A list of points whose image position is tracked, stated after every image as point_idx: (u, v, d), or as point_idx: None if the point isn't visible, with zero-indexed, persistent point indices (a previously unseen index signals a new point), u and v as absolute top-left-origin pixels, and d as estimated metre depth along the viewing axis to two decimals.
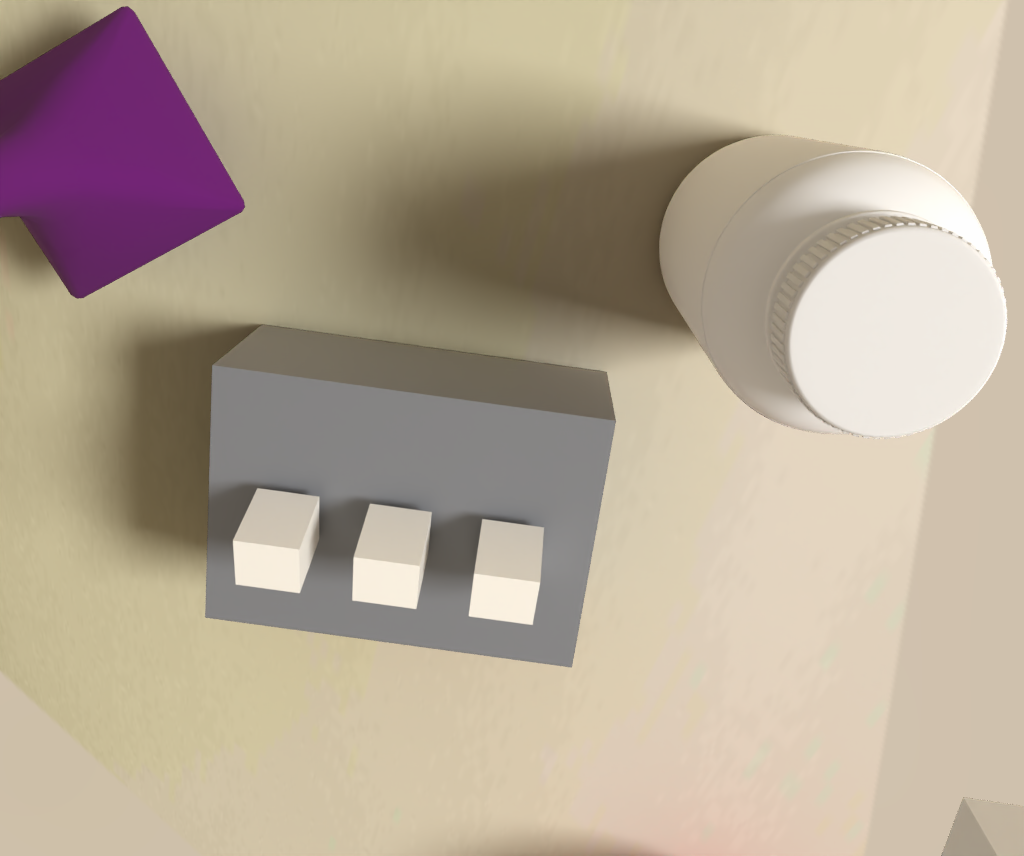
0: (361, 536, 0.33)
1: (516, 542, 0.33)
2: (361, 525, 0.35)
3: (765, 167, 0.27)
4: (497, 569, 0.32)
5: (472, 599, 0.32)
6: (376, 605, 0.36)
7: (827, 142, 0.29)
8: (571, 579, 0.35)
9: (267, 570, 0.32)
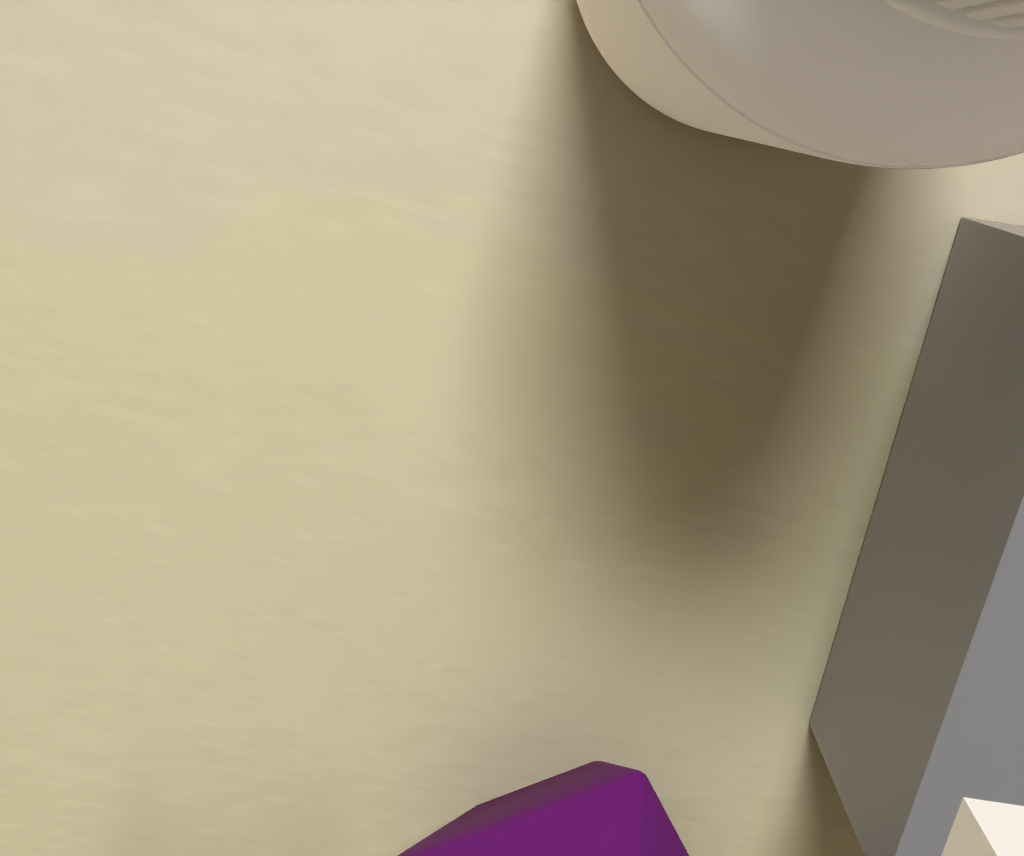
0: None
1: None
2: None
3: (617, 4, 0.12)
4: None
5: None
6: None
7: None
8: None
9: None
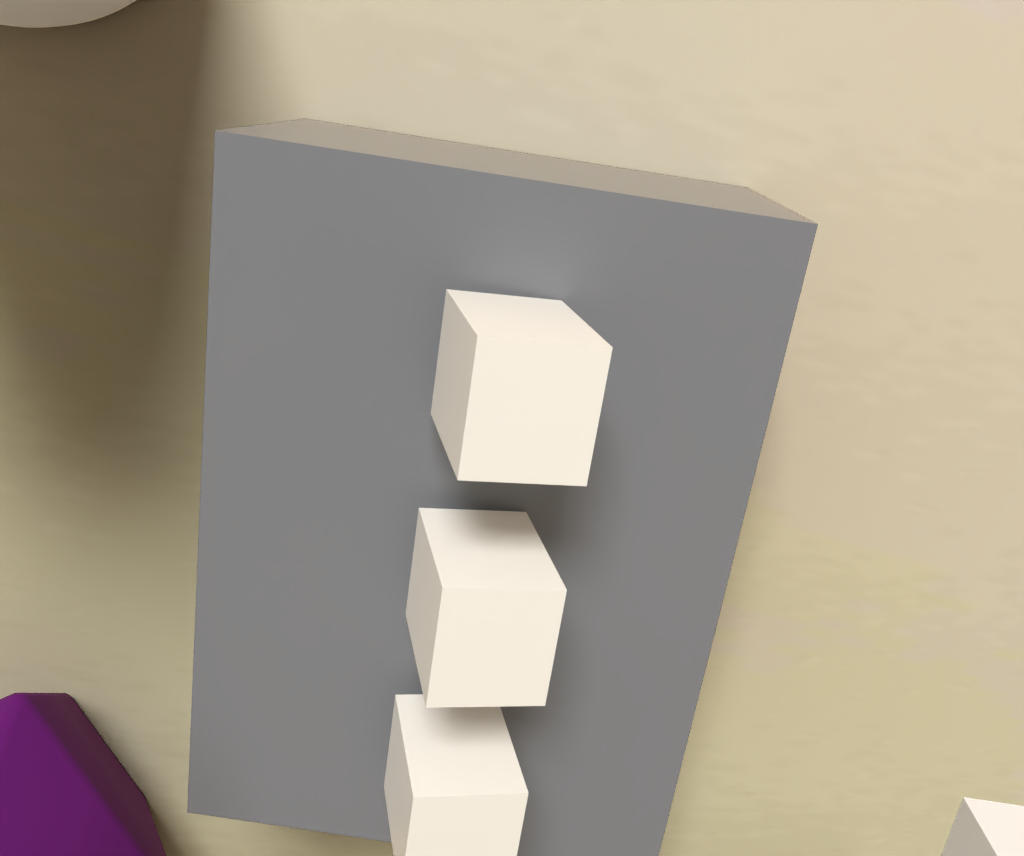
0: (418, 666, 0.16)
1: (449, 359, 0.15)
2: None
3: None
4: (459, 424, 0.14)
5: (535, 480, 0.14)
6: (639, 609, 0.18)
7: None
8: (590, 225, 0.16)
9: (471, 844, 0.17)
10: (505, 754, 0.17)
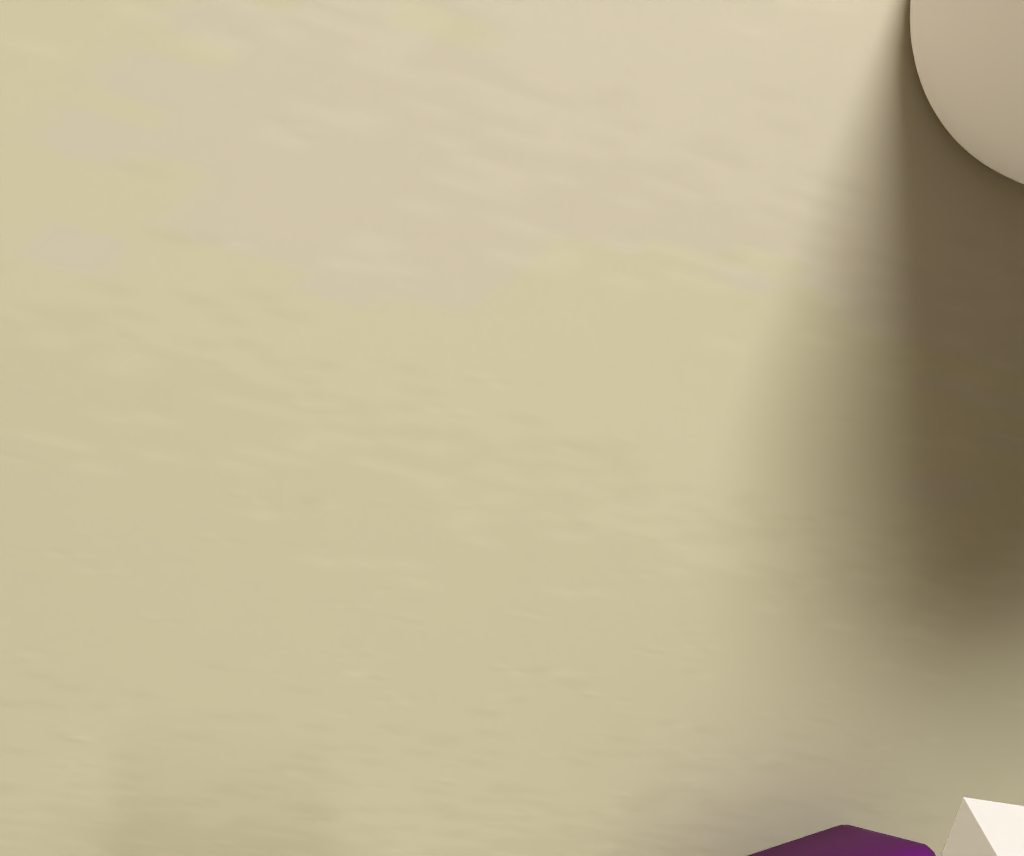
0: None
1: None
2: None
3: None
4: None
5: None
6: None
7: None
8: None
9: None
10: None
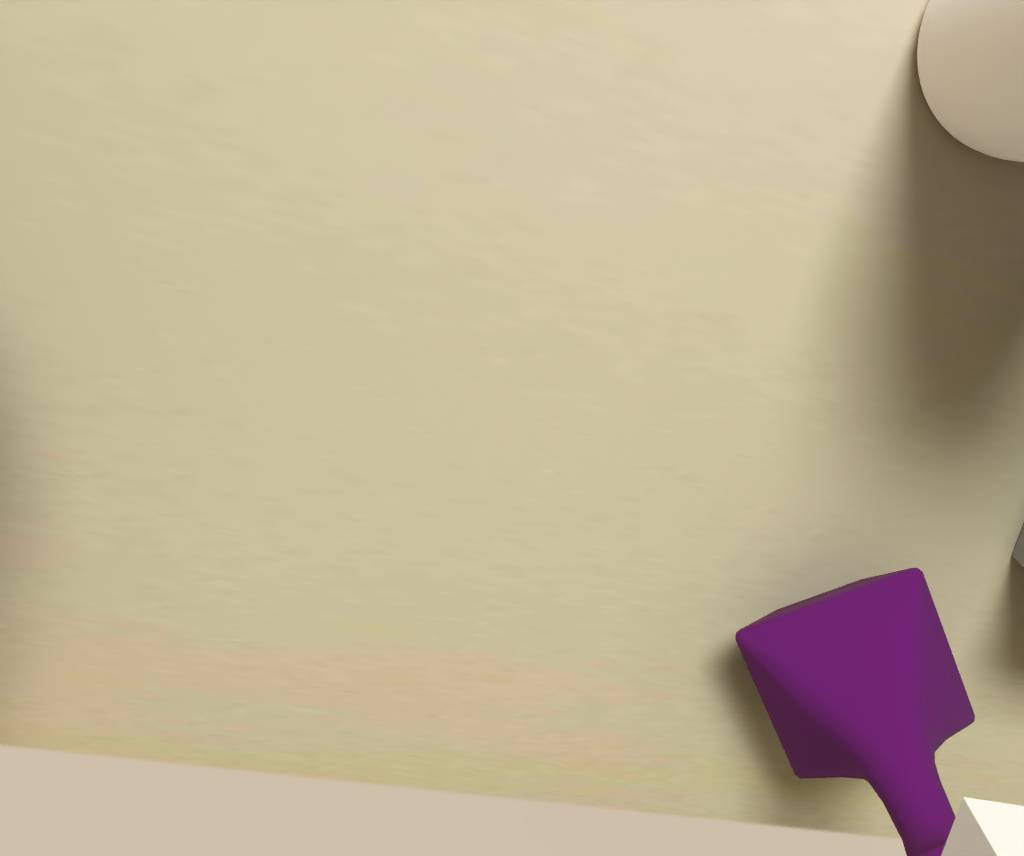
0: None
1: None
2: None
3: None
4: None
5: None
6: None
7: (994, 10, 0.27)
8: None
9: None
10: None
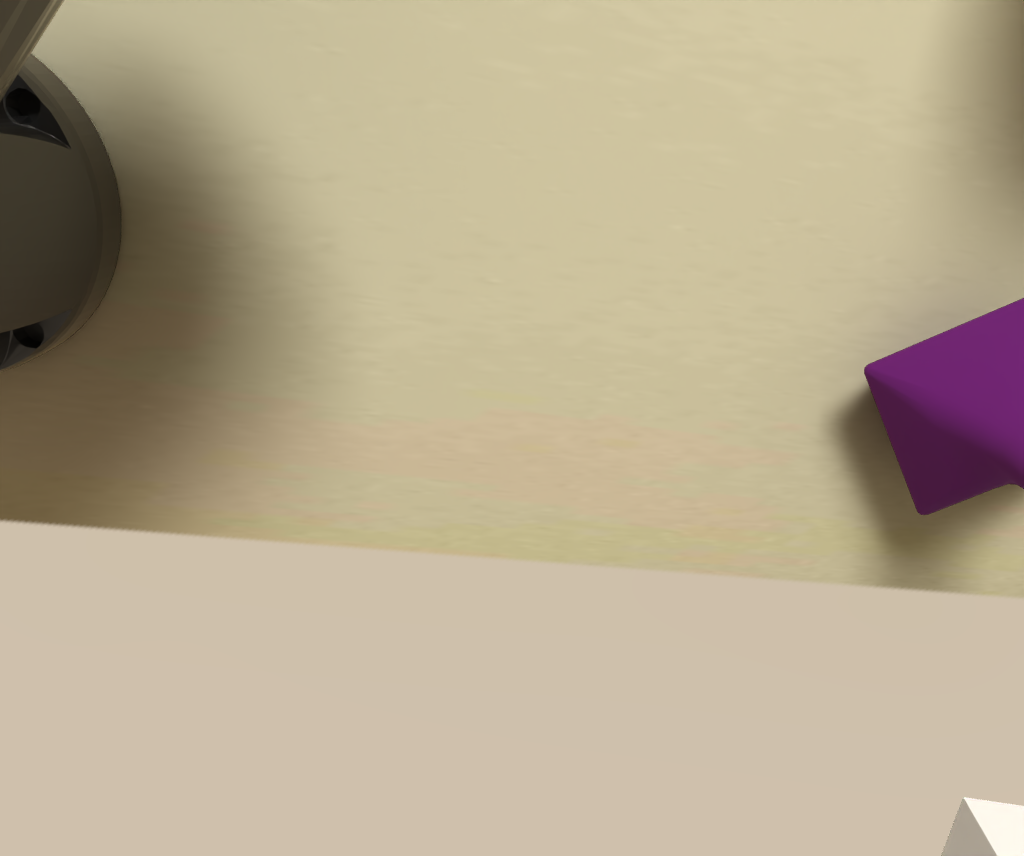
0: None
1: None
2: None
3: None
4: None
5: None
6: None
7: None
8: None
9: None
10: None
